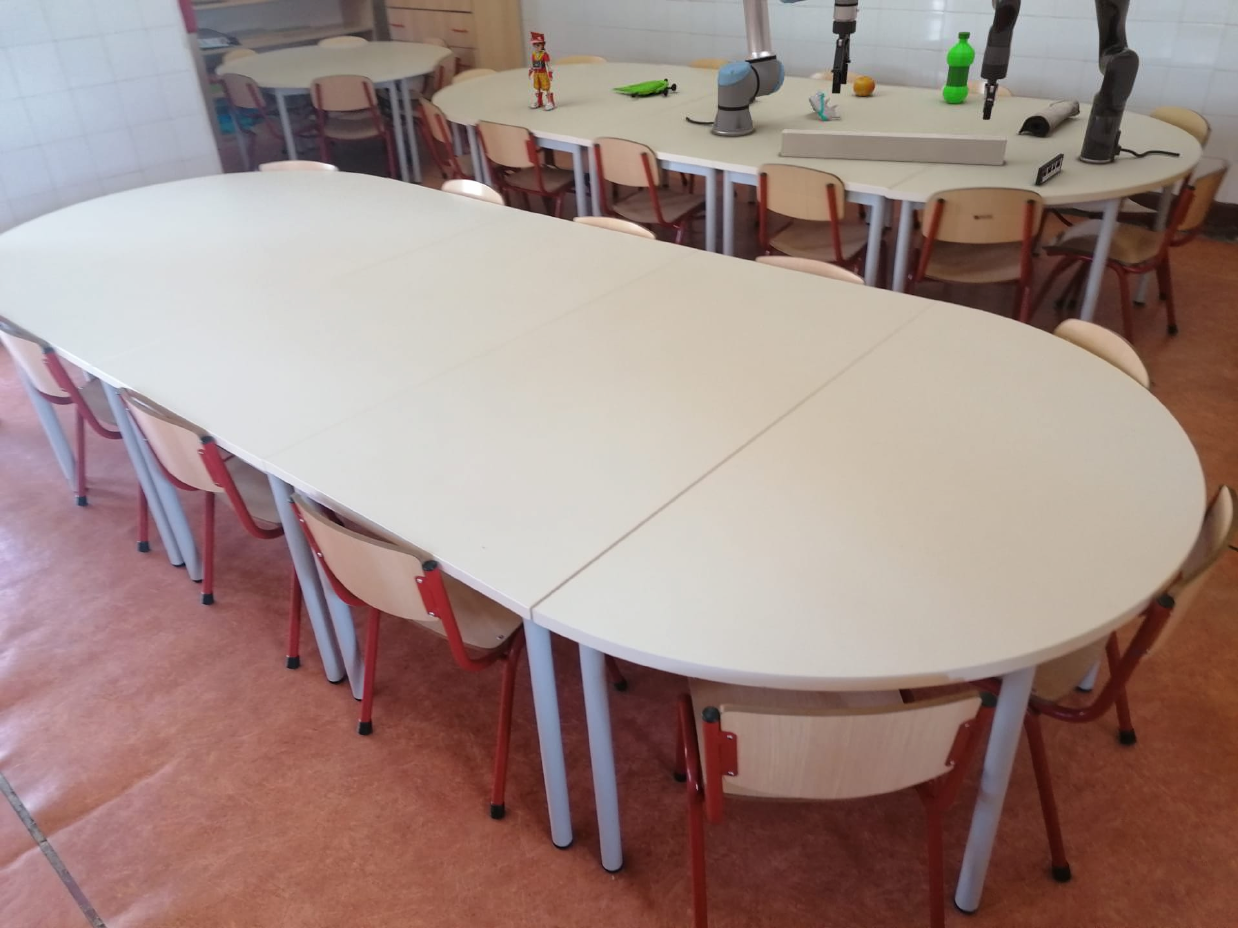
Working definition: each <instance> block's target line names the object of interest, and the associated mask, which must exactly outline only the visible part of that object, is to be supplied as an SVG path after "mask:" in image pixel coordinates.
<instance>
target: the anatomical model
mask: <svg viewBox="0 0 1238 928" xmlns="http://www.w3.org/2000/svg"><path fill="white" fill-rule="evenodd" d="M825 97H826V96H825V93H824V92H823V91H822V90H821V89H818V90H817V92H816V93H815V94H814V95H810V96H809V97H808V102H809V103H810V106H811V107H812V110H813V111H814V112H815V113H818V115H819V117H820V118H821V120H823V121H829V119H840V118H841V117H842V114H837V113H836V112H835V110H836V108H838V106H839V105H838V104H833V105H831V106H828V103H829V101H830V100H831V98H830V97H829V98H826V99H825V100H824V98H825Z"/></svg>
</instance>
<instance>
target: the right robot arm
mask: <svg viewBox="0 0 1238 928" xmlns="http://www.w3.org/2000/svg"><path fill="white" fill-rule="evenodd" d="M1130 4H1131V0H1094V7H1095V16H1096V23H1097V29H1098V59H1097V60H1098V61H1097V63H1098V64H1097V65H1098V70H1099V72H1100V73H1101V75H1102V76H1103V80H1102V82H1101V86H1100V89H1099V90H1098V91H1097V92H1096V93H1095V94H1094V96H1093V100H1092V103H1091V108H1090V113H1089V117H1088V121H1087V125H1086V130H1085V134H1084V137H1083V142H1082V145H1081V151H1080V154H1079V156H1078V157H1079V158H1078V159H1079V160H1080V161H1082V162H1084V163H1088V164H1097V165H1100V164H1108V163H1114V161H1115V158H1116V157H1117V156H1118V157H1119V156H1120V155H1121V152H1124V153H1129V154H1130V155H1133V156H1134V157H1137V158H1142V157H1145V156H1147V155H1150V154H1158V155H1159V154H1160V155H1167V156H1173V157H1180V155H1181V153H1179V152H1172V151H1166V150H1157V149H1155V150H1154V149H1153V150H1152V149H1151V150H1147V151H1145V152H1143V153H1138V152H1136V151H1134V150H1132V149H1129V148H1125V147H1122V145H1120V144H1119V142H1120V138H1121V134H1122V130H1120V128H1121V125H1122V121H1123V116H1124V112H1125V109H1126V104H1127V102H1128V99H1129V98H1130V96H1131V94H1132V92H1133V88H1134V85H1135V82H1136V79H1137V75H1138V73H1139V67H1140V56H1139V55H1138V54H1137V52H1136V51H1135V50H1133V49H1131V48H1130V47H1129V44H1128V39H1127V31H1126V26H1127V25H1126V22H1127V17H1128V13H1129V8H1130ZM1021 5H1022V0H991V6H992V8H993V10H994V14H993V15H994V16H993V21H992V24H991V25H990V26H989V29H988V33H987V40H986V45H985V49H984V52H983V58H982V63H981V69H980V74H979V75H980V78H981V79H983V80H987V81H986V82H985V83H984V88H983V89H984V90H983V96H984V97H983V100H984V102H983V108H982V120H983V121H990V120H991V116H992V110H993V108H994V106H995V101H996V98H997V94H998V93H997V92H998V90H999V87H1000V86H999V85H1000V84H999V83H998V80H1003V79H1005V78H1007V74H1008V68H1009V64H1010V59H1011V51H1012V43H1013V37H1014V30H1015V26H1016V24H1017V21H1018V17H1019V15H1020V11H1021Z"/></svg>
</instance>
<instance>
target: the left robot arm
mask: <svg viewBox="0 0 1238 928" xmlns="http://www.w3.org/2000/svg"><path fill="white" fill-rule="evenodd" d="M779 1H780V2H781V3H783V4H796V3H798V2H804V1H806V0H779ZM742 3H743V5H742V6H743V13H744V14H743V15H744V23H745V24H744V25H745V34H746V35H745V36H746V43H747V55H746V57H745V58H744V60H742V61H741V60H740V61H739V60H738V61H732V62H728V63H726V64H723V65H722V66H720V68H719V70H718V73H717V74H718V75H717V111H716V114H715V118H714V120H713V121H698V120H694V119H691V118H690V117H688V116H686V117H685V119H686V120H687V121H688V122H689V123H692V124H697V125H706V126H709V125H712V133H713V134H715V135H717V136H721V137H741V136H746V135H750V134H752V133H754V119H753V118H752V115H751V111H750V103H749V99H751V98H755V97H756V98H759V97H765V96H770V95H773V94H775V93H777V92H778V91H779V90H780V89H781V87H782V86H783V84H784V81H785V75H786V74H785V73H786V72H785V67H784V65H783V64H782V61H781V60H779V59H778V58H777V53H776V52H775V51H774V50H773V48H772V38H771V37H772V36H771V28H770V15H769V5H768V0H742ZM858 6H859V0H834V5H833V14H832V15H833V16H832V19H833V22H832V30H831V31H832V32H831V33H832V34H834V35H838V38H837V39H836V40H835V52H834V58H833V66H832V69H831V70H830V73H831V74H832V85H831V94H836V95H840V94H841V90H842V89H841V88H842V85H847V82H848V73H849V72H848V71H849V64H851V63H852V59H850V58H851V57H850V52H851V51H850V50H851V49H850V47H851V46H850V44H851V35H853V34H855V33H856V31H857V23H858V21H857V20H856V19H857V18H858V13H859V12H860V8H859V7H858Z"/></svg>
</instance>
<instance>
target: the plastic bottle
mask: <svg viewBox="0 0 1238 928" xmlns="http://www.w3.org/2000/svg"><path fill="white" fill-rule="evenodd" d="M970 36H971V32H970V31H959V32H958V36H957V39H958V42H957V43H956V44H954V45H953V46H952V47H951V48H950V49H949V50H948V52H947V54H946V63H947V64H948V69H947V70H948V71H947V76H946V77H947V78H946V84H945V85H944V87H943V90H942V97H943V99H944V100H945V101H946V102H947V103H948V104H960V103H961V102H963V101H964V100H966V98H967V96H968V95H969V85H968V79H969V73H970V67H971V65H972V64H973V63H974V61H975V57H976V51H975V49H974V47H972V45H971V44H970V43H969V42H968V41H969V39H970V38H971V37H970Z"/></svg>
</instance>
